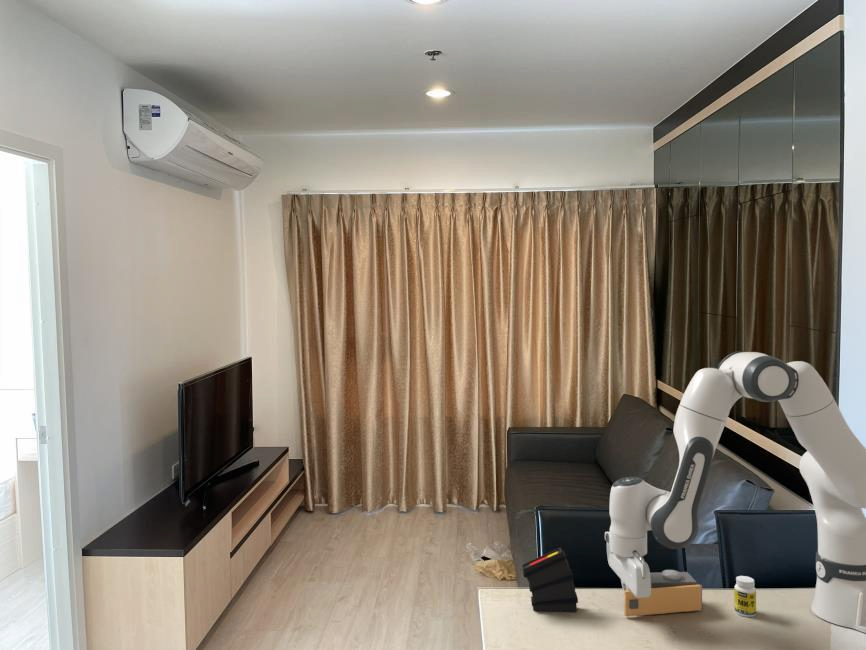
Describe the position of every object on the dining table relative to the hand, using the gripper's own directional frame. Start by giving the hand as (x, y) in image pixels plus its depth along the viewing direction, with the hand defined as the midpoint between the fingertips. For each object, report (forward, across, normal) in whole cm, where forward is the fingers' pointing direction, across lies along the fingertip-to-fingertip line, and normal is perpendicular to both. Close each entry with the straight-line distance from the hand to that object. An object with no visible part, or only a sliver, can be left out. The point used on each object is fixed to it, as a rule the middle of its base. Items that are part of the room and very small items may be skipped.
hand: (628, 599), depth 159 cm
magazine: (+3, +4, +19) cm, 19 cm away
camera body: (+3, +3, -10) cm, 11 cm away
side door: (+3, -3, -8) cm, 9 cm away
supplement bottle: (+3, -4, -28) cm, 28 cm away
